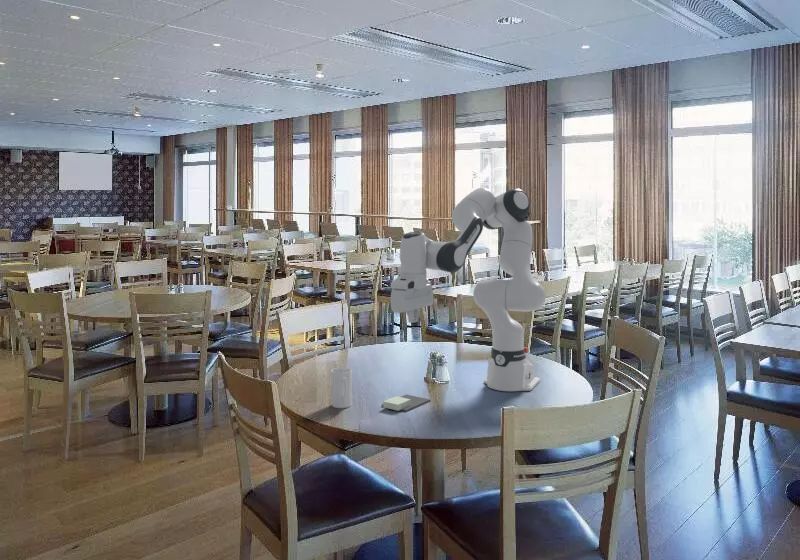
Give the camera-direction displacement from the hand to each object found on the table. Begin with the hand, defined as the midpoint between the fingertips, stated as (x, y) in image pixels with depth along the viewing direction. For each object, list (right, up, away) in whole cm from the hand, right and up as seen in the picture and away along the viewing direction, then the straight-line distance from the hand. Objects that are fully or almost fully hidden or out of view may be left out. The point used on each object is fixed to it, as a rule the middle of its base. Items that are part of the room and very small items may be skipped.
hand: (413, 322), depth 231 cm
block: (-3, -26, -2) cm, 26 cm away
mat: (-2, -27, 0) cm, 27 cm away
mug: (-23, -28, -3) cm, 37 cm away
